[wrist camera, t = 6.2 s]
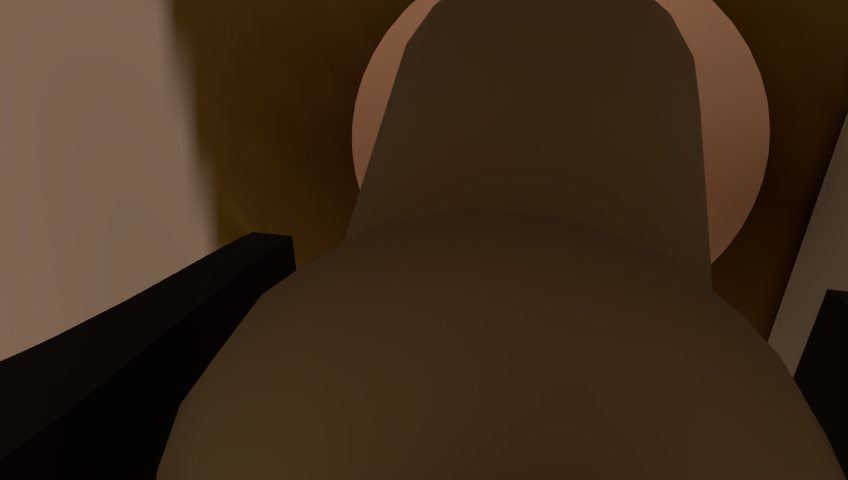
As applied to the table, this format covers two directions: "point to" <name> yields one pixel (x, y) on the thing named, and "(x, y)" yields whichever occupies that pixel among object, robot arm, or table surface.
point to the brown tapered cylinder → (513, 283)
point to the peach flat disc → (718, 94)
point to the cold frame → (816, 261)
